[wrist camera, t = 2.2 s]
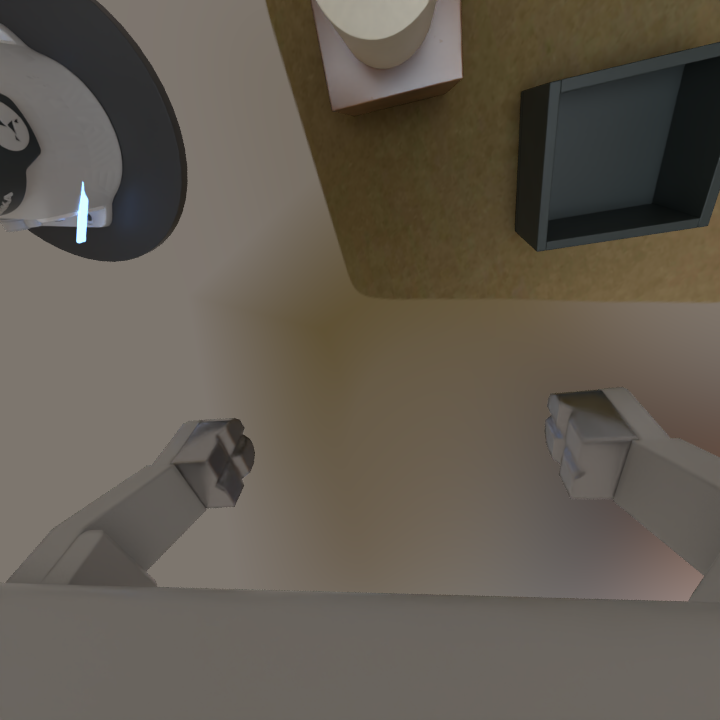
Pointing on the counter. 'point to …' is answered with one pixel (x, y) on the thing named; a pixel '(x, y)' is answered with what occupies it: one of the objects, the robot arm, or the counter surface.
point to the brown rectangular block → (397, 84)
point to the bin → (620, 151)
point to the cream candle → (380, 28)
